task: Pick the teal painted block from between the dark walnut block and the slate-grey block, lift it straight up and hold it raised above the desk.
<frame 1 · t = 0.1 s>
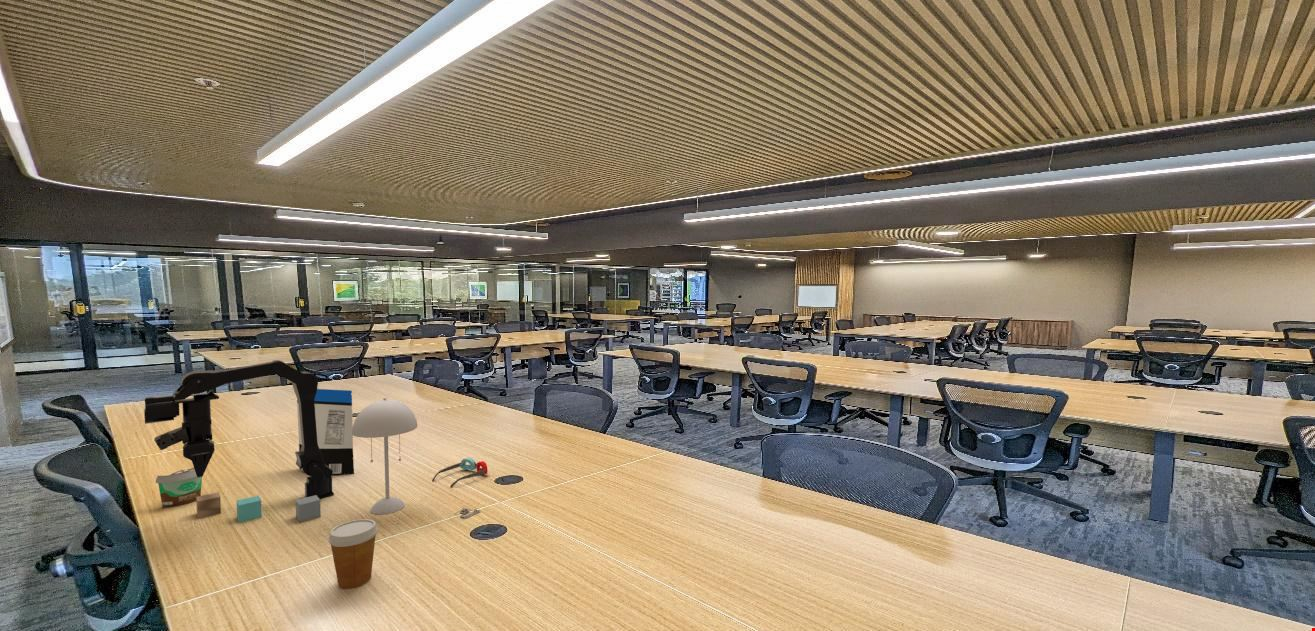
hand: (199, 472, 140), 14 cm above the table, tool pointing down, fingers open, 9 cm apart
teal block: (249, 517, 145), on the table
lamp: (387, 508, 151), on the table
disposable coffee cup: (354, 581, 112), on the table
food container: (187, 502, 157), on the table
protein powder: (326, 471, 183), on the table
small grey metal mechanism: (480, 514, 147), on the table
walnut block: (208, 513, 148), on the table
slate block: (308, 517, 145), on the table
novelty glasses: (460, 479, 176), on the table
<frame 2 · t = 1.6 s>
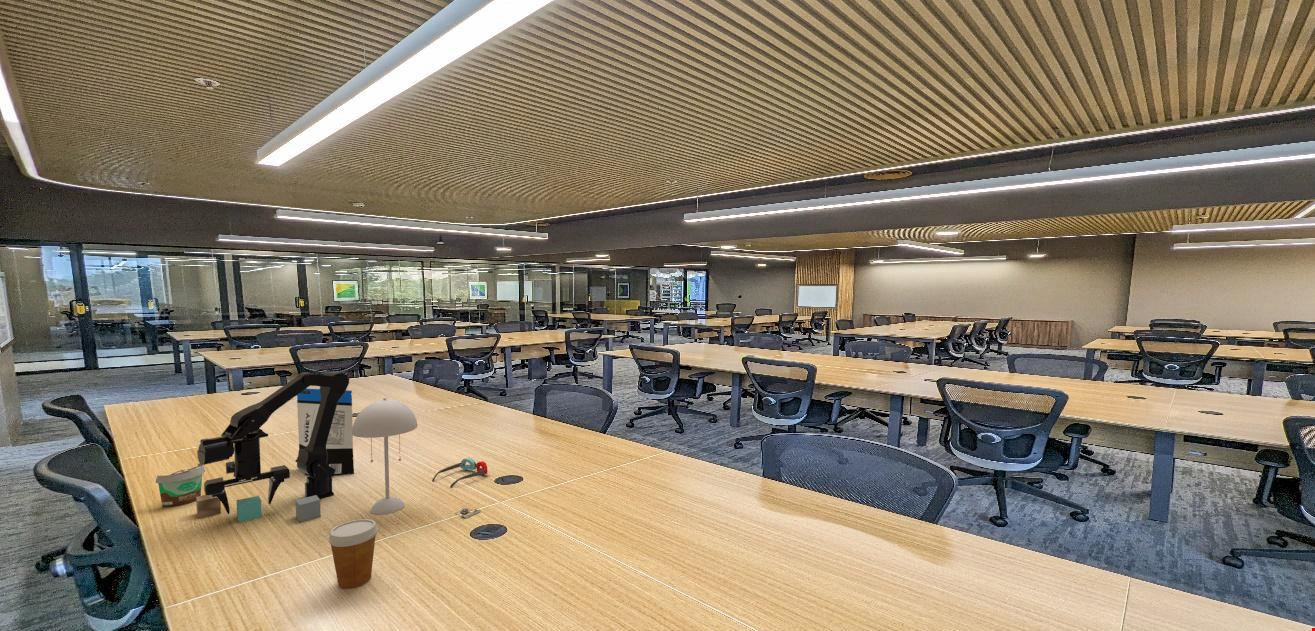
hand: (249, 508, 145), 2 cm above the table, tool pointing down, fingers open, 9 cm apart
nothing on the table moved.
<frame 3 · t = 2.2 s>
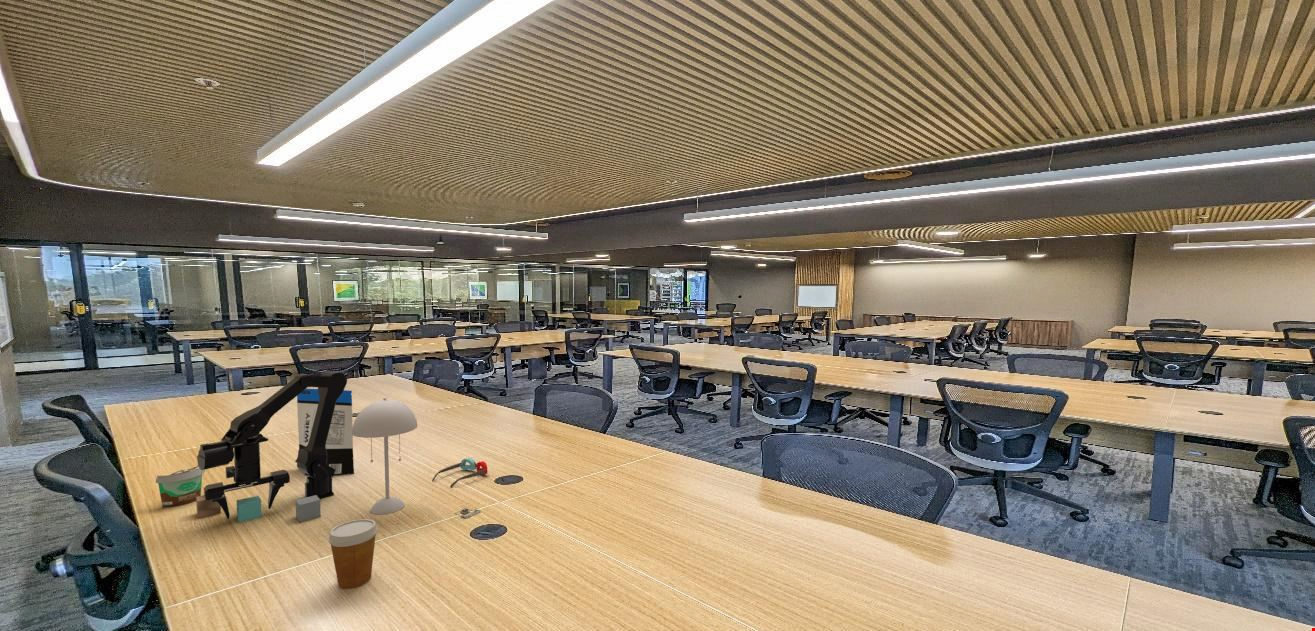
hand: (249, 513, 145), 1 cm above the table, tool pointing down, fingers open, 9 cm apart
nothing on the table moved.
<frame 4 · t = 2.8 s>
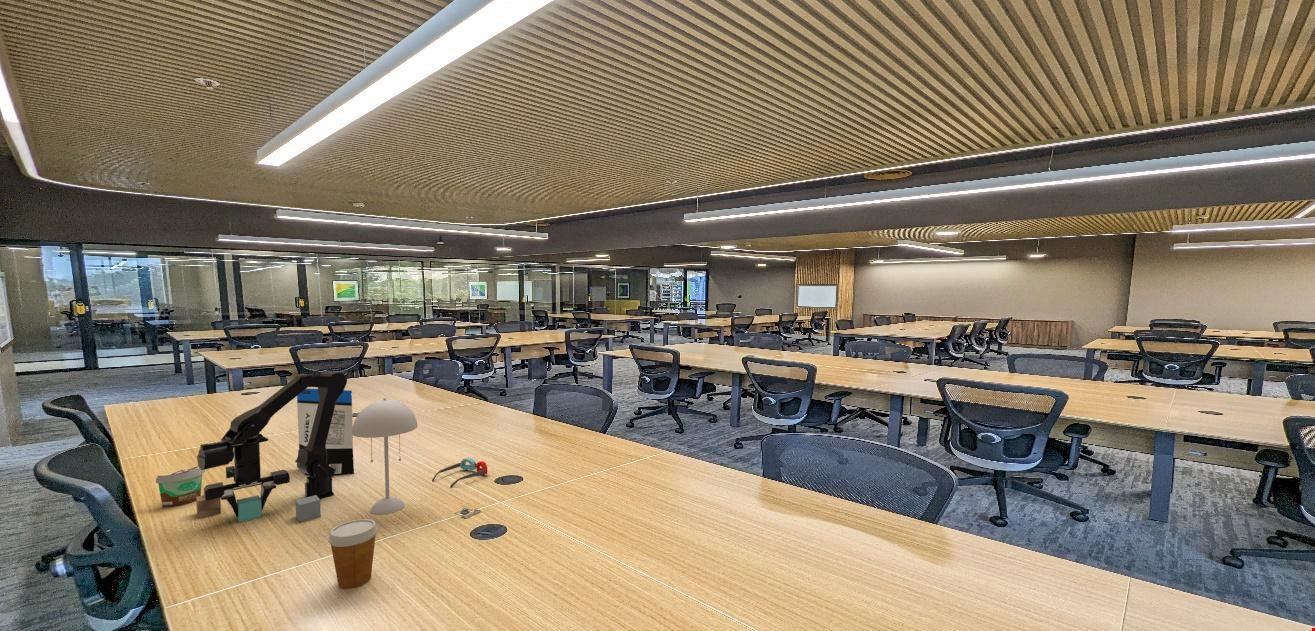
hand: (249, 513, 145), 1 cm above the table, tool pointing down, fingers closed on teal block, 5 cm apart
teal block: (249, 517, 145), on the table, touching gripper
everything else where it was.
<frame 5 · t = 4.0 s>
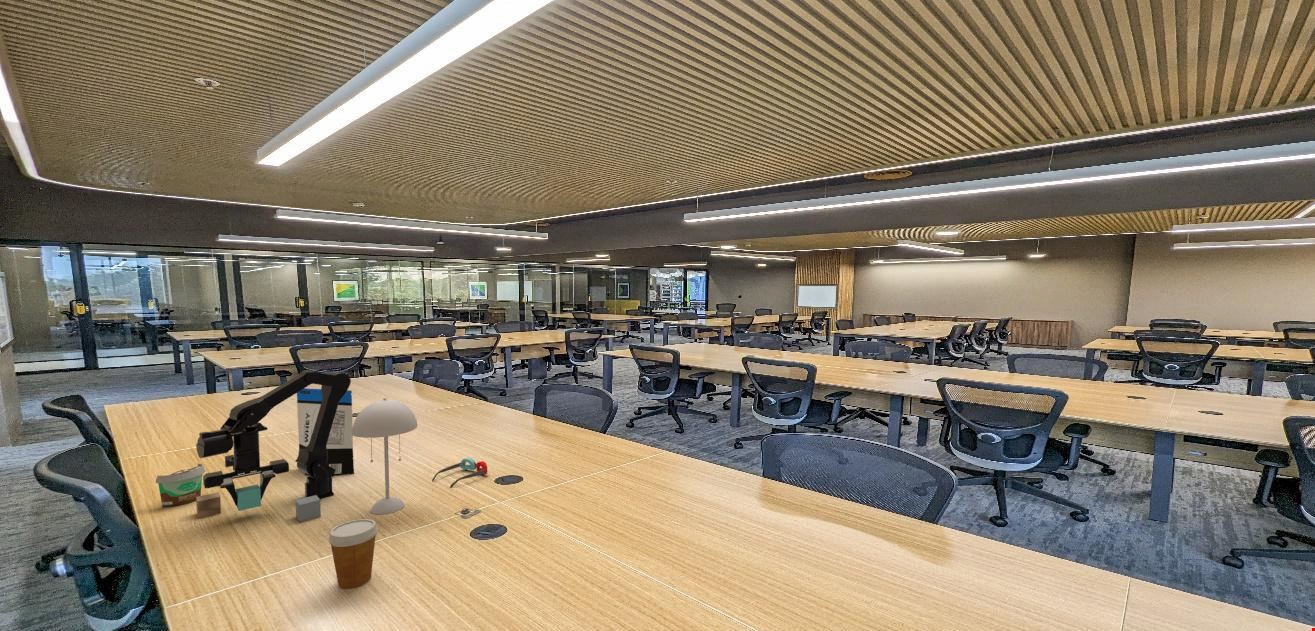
hand: (248, 502, 145), 4 cm above the table, tool pointing down, fingers closed on teal block, 5 cm apart
teal block: (248, 506, 145), point 3 cm above the table, touching gripper
everything else where it was.
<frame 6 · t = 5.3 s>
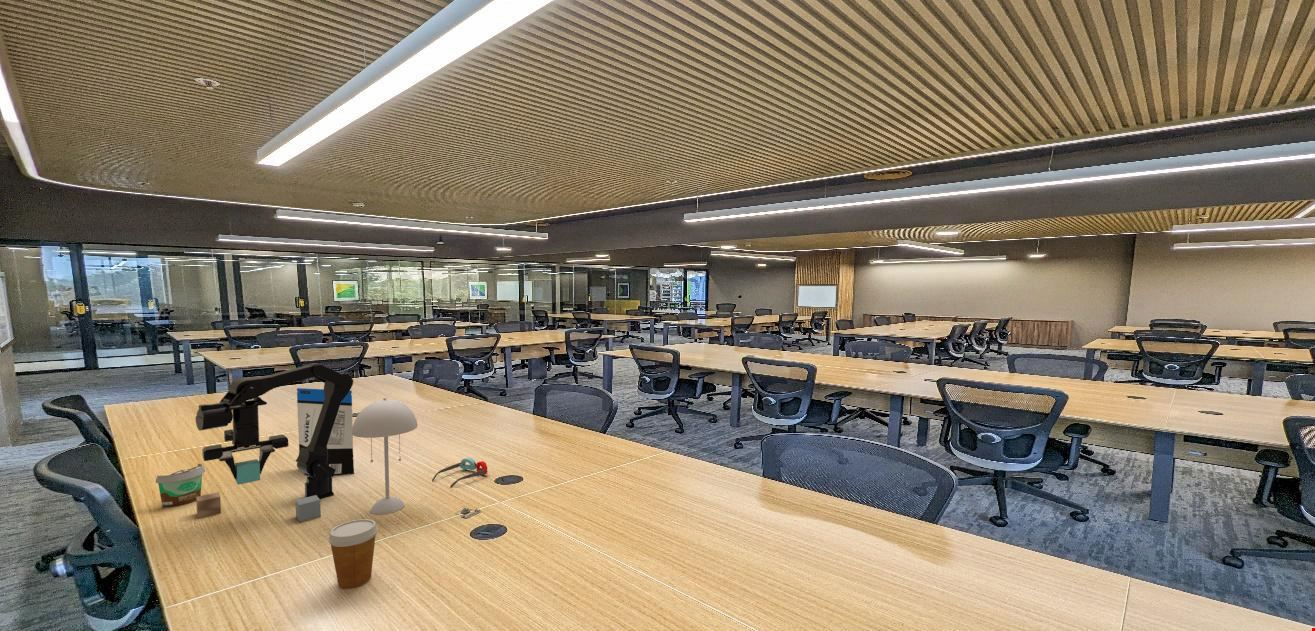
hand: (247, 476, 145), 12 cm above the table, tool pointing down, fingers closed on teal block, 5 cm apart
teal block: (247, 480, 145), point 11 cm above the table, touching gripper
everything else where it was.
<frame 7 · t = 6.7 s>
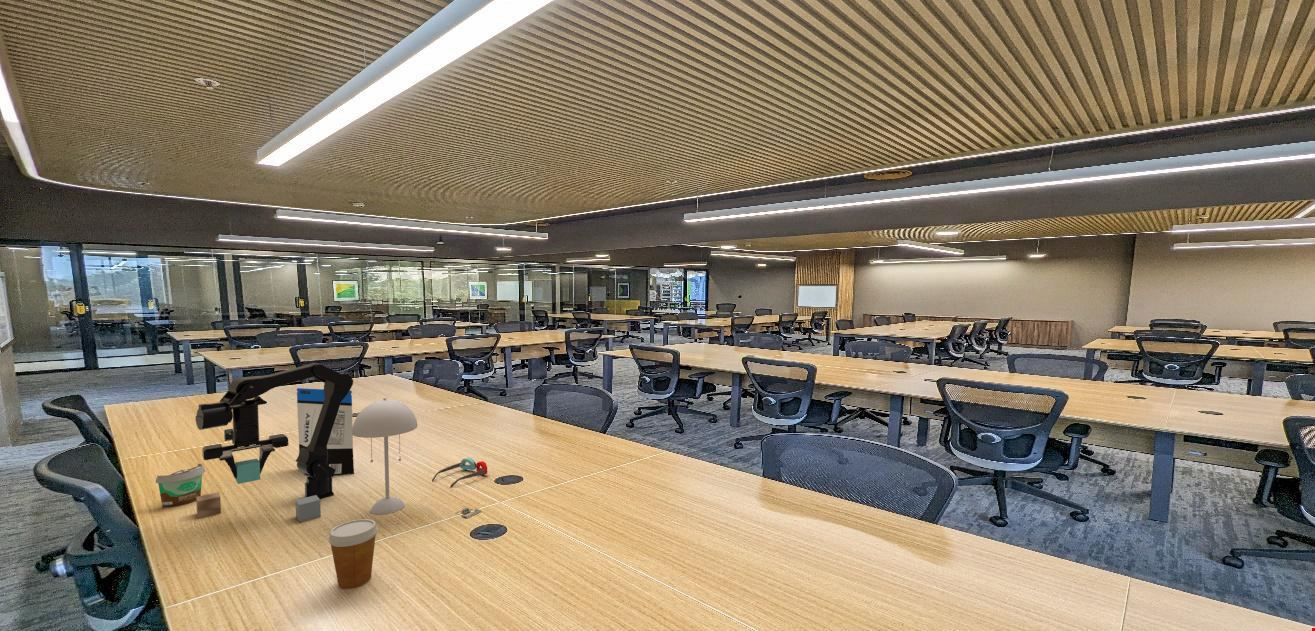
hand: (247, 475, 145), 12 cm above the table, tool pointing down, fingers closed on teal block, 5 cm apart
teal block: (248, 479, 145), point 11 cm above the table, touching gripper
everything else where it was.
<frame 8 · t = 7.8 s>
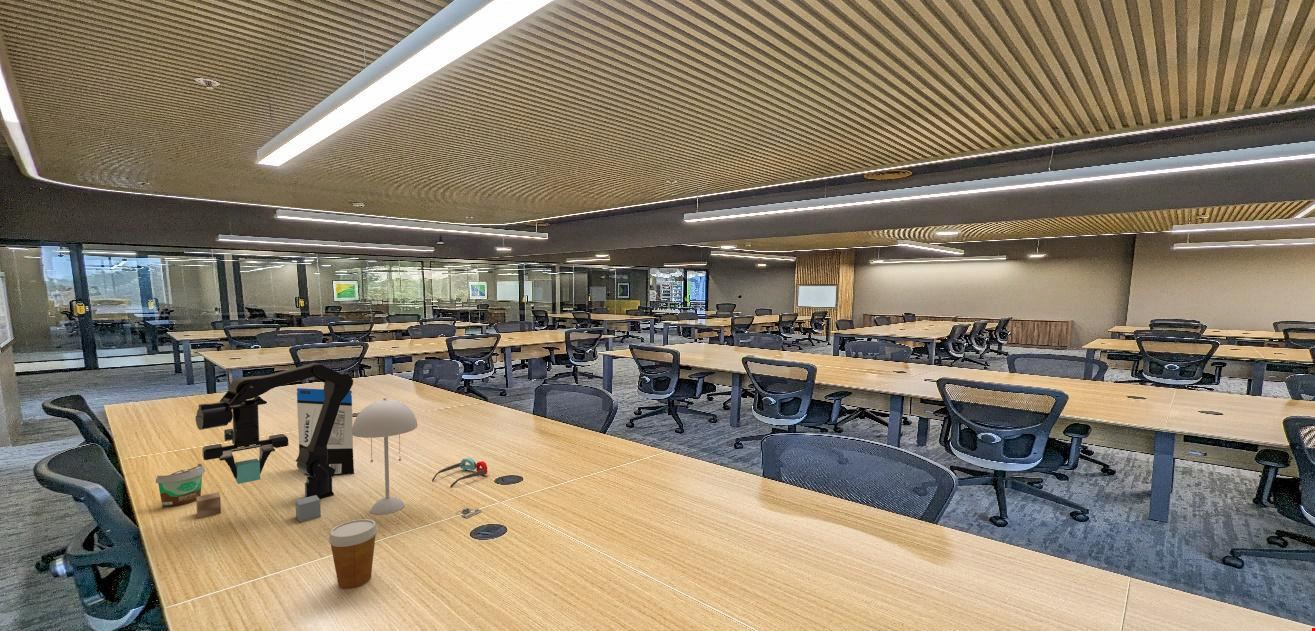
hand: (247, 475, 145), 12 cm above the table, tool pointing down, fingers closed on teal block, 5 cm apart
teal block: (248, 479, 145), point 11 cm above the table, touching gripper
everything else where it was.
at the end: the gripper is holding teal block; teal block point 10.9 cm above the table; slate block moved 0.1 cm from its start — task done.
